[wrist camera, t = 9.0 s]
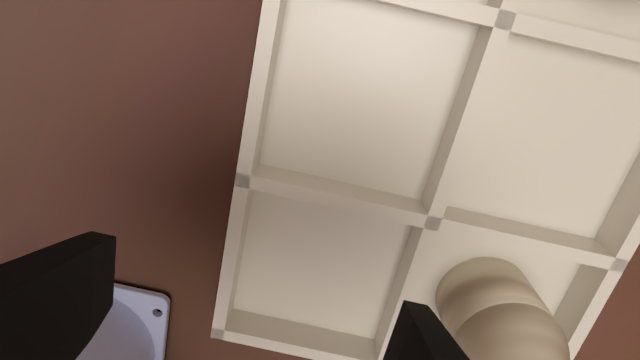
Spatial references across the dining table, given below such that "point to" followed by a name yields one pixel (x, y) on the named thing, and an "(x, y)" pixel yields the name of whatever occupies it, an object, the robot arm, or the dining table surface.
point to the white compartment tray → (429, 164)
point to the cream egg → (498, 313)
